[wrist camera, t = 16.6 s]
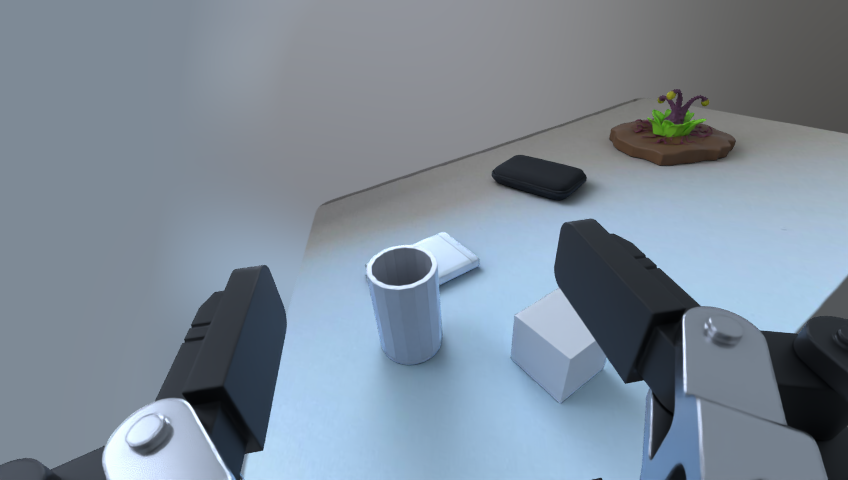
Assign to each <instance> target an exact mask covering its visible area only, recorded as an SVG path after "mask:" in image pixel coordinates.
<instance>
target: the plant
mask: <svg viewBox="0 0 848 480" xmlns="http://www.w3.org/2000/svg"><path fill="white" fill-rule="evenodd" d="M677 93H678V98H677V102H676V105H675V104H674V102H673V101H672V99H673V98H675V96H676V94H677ZM682 98H683V97H682V93H681V91H680V90H678V89H676V90H672V91H671V92H669V93H668V94H667V96H660V97H659V98H658V103H663V102H664V101H665V99H666V100H667V101H668V103H669V104H670V107H671V109H672V111H671V110H669V109H667V110H666V112H665V114H663V113H661V112H660V111H657V110H653V111H652V112H653V114H652V115H653V117H654V119H650V118H647V119H648V120H641V119H638V120H636V121H634V122H631V123H630V122H629V123H623V124H620V125H618V126H616V127H614V128H612V129H611V133H610V138H609V139H610V140H611V141H612V142H613V145H614V147H615V148H617V149H618V150H620V151H622V152H624V153H626V154H627V155H629V156H632V157H637V158H642V159H646V160H648V161H651V162H653V163H655V164H658V165H660V166H661V165H676V164H682V163H695V162H700V161H704V160H717V159H718V158H724V157H726V156H727V154H728V152H729V151H731V150H732V149H733V147H734V145H735V142H736V140H735V138H734V137H733V136H731V135H729V134H727V133H724V132H721V131H719V130H716V129H714V128H712V127H710V126H708V125H705V124H701V123H703V122H704V121H706V119H699V120H696V121H695V120H692V121H690V119H691V118H692V117H693V116H694V113H690V112H689V110H688V108H689V107H690V105H691V104H692V103H693V102H694V101H695V100H696V99H699V98H702V101H701V104H702V105H703V106H707V105H708V104H709V100H708V98H706V97H703V96H701V95H700V96H696V97H694V98H691V100H689V102H687V103H686V104H685V105H684V106H683V107H681V105H682V100H683V99H682ZM689 121H690V122H689Z"/></svg>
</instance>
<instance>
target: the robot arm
mask: <svg viewBox="0 0 848 480" xmlns="http://www.w3.org/2000/svg"><path fill="white" fill-rule="evenodd" d="M554 273H555V278H556V281H557V284H558V286H559V288H560V289H561V291H562V292H563V294H564V295H565V297H566V298H567V300H568V301H569V302H570V304H571V305H572V307H573V308H574V310H575V311H576V313H577V314H578V316H579V317H580V319H581V320H582V321H583V323H584V324H585V326H586V327H587V329H588V330H589V332H590V333H591V335H592V336H593V337H594V339H595V340H596V342H597V343H598V345H599V346H600V348H601V349H602V351H603V352H604V354H605V355H606V356H607V358H608V359H609V361H610V362H611V364H612V365H613V367H614V368H615V370H616V371H617V372H618V374H619V375H620V377H621V378H622V380H623V381H624V383H625V384H626V383H632V382H637V381H642V380H644V381H645V382H646V383H647V385H648V386H649V387H650V389H649V391H648V393H647V397H646V412H645V427H644V443H643V459H642V469H641V475H640V479H639V480H848V428H847V427H846V426H847V425H848V319H843V318H838V317H832V316H820V317H815V318H812V319H810V320H809V321H808V322H807V324H806V325H805V326H804V328H803V329H802V330H801V332H800V333H799V334H794V333H783V332H772V331H760V330H759V329H758V328H757V327H755V326H754V325H753V324H752V323H750V322H749V321H748V320H746V319H744V318H743V317H741V316H739V315H737V314H735V313H732V312H730V311H727V310H724V309H720V308H716V307H708V306H700V305H699V304H698V303H697V302H696V301H695V300H694V299H693V298H691V297H690V296H689V295H688V294H687V293H686V292H685V291H684V290H683V289H682V288H681V287H679V286H678V285H677V284H676V283H675V282H674V281H673V280H672V279H671V278H670V277H669V276H668V275H666V274H665V273H664V272H663V271H662V270H661V269H660V268H657V265H656V264H654V263H653V262H652V261H651V260H650V259H649V258H646V257H645V254H644V253H642V252H641V251H640V250H639V249H638V248H637V247H636V246H635V245H634V244H633V243H631V242H629V241H627V240H625V239H623V238H621V237H619V236H617V235H616V234H609V233H608V232H607V231H606V230H605V229H604V228H603V227H602V226H601V225H600V224H599V223H598V222H597V221H596V220H594V219H585V220H579V221H572V222H565V223H564V224H563V225H562V227H561V231H560V236H559V242H558V248H557V254H556V260H555V266H554ZM191 326H192V328H190V329H189V331H188V333H187V335H186V337H185V339H184V340H185V343H182V345H181V347H180V350H179V352H178V354H177V356H176V358H175V360H174V362H173V364H172V366H171V369H170V371H169V373H168V375H167V377H166V379H165V381H164V383H163V385H162V388H161V389H160V392H159V394H158V396H157V398H156V400H155V402H152V403H150V404H148V405H146V406H144V407H143V408H141V409H139V410H138V411H136V412H135V413H134V414H132V415H131V416H129V417H128V418H127V419H126V420H125V421H124V422H123V423H122V424H121V425H120V426H119V427H118V428H117V429H116V430H115V431H114V433H113V434H112V435H111V437H110V438H109V440H108V442H107V444H106V445H105V446H103V447H101V448H99V449H96V450H94V451H92V452H90V453H87V454H85V455H83V456H81V457H78V458H76V459H74V460H71V461H69V462H67V463H65V464H62V465H61V466H58V467H56V468H53V469H51V470H50V469H49V468H47V467H46V466H44V465H43V464H42V463H40V462H39V461H37V460H35V459H31V458H23V459H17V460H13V461H10V462H7V463H5V464H2V465H0V480H245V479H244V477H243V476H242V474H241V473H240V472H241V467H242V463H243V459H244V455H245V454H247V453H252V452H258V451H263V448H264V443H265V438H266V433H267V427H268V422H269V417H270V412H271V407H272V401H273V396H274V391H275V386H276V381H277V376H278V370H279V365H280V360H281V355H282V350H283V344H284V339H285V334H286V327H287V321H286V313H285V309H284V306H283V303H282V300H281V298H280V295H279V293H278V290H277V287H276V285H275V282H274V280H273V277H272V275H271V272H270V270H269V268H268V267H267V266H266V265H261V266H255V267H247V268H240V269H235V270H233V272H232V274H231V276H230V278H229V281H228V283H227V286H226V288H225V290H224V291H219V292H215V293H213V294H212V295H211V297H210V298H209V299H208V300H207V301H206V302H205V303H204V304H203V305H202V306H201V307H200V308H199V310H198V312H197V314H196V316H195V318H194V320H193V322H192V324H191ZM593 480H602V478H597V479H593Z"/></svg>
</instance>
